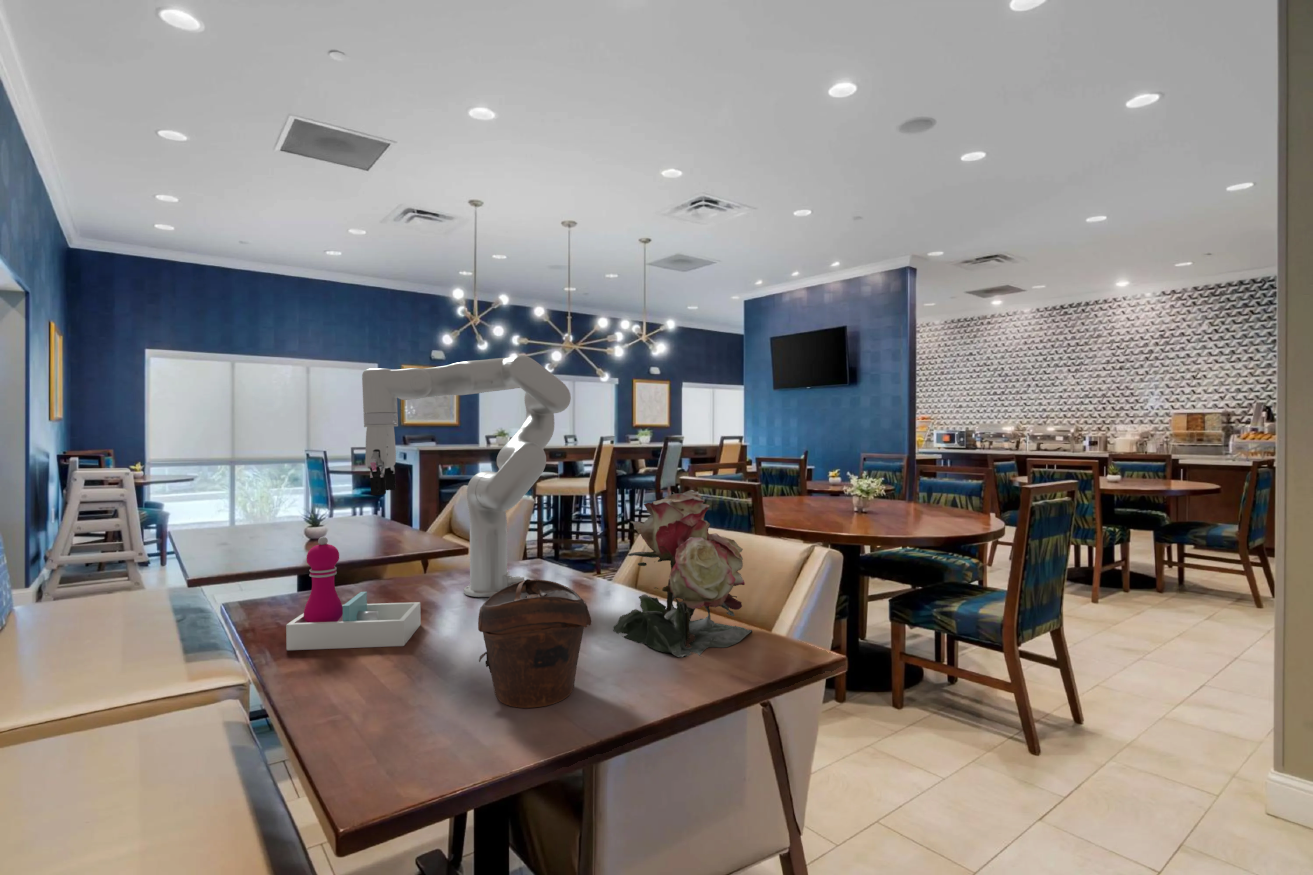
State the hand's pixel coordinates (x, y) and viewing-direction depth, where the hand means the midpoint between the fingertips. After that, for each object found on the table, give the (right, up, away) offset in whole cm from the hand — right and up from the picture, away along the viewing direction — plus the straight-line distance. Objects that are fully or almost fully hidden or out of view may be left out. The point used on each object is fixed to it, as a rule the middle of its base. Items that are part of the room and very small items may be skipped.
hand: (383, 492), depth 159 cm
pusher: (+5, -27, -21) cm, 35 cm away
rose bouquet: (+72, -28, -19) cm, 80 cm away
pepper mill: (-3, -27, -23) cm, 36 cm away
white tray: (+3, -28, -21) cm, 35 cm away
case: (+45, -29, -50) cm, 73 cm away
